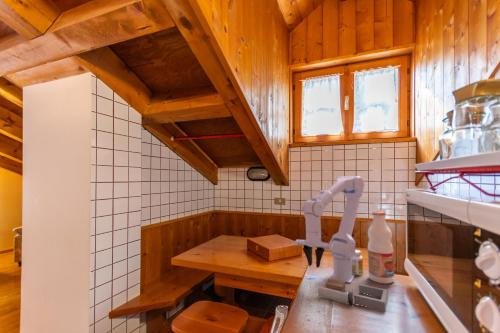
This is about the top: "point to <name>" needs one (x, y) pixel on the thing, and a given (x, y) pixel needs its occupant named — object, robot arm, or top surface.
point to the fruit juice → (380, 250)
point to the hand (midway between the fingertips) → (314, 266)
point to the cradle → (370, 301)
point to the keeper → (336, 295)
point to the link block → (335, 285)
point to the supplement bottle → (357, 263)
